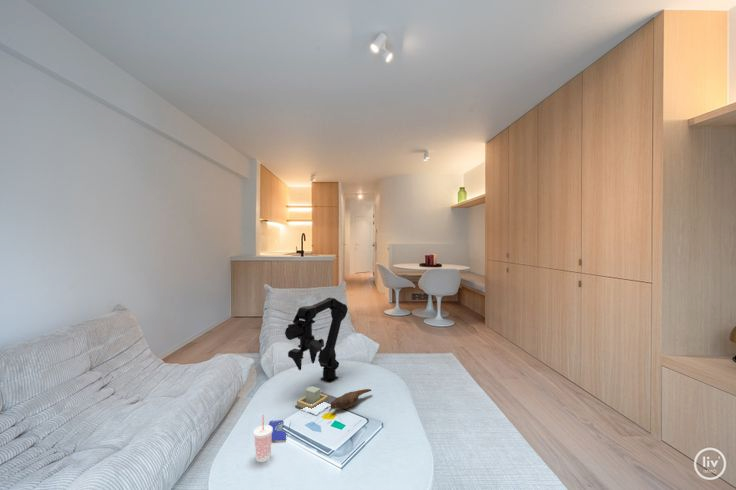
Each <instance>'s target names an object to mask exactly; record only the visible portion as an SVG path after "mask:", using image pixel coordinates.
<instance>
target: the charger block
mask: <svg viewBox="0 0 736 490" xmlns="http://www.w3.org/2000/svg"><path fill="white" fill-rule="evenodd" d="M320 392H321V388H319V387H315V386H313V385H312V386H309V387H307V388H306V389H305V392H304V393H305V394H304V397H305V403H308V404H314V403H315V402H317V401H318V400H320Z"/></svg>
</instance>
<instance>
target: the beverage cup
mask: <svg viewBox="0 0 736 490" xmlns="http://www.w3.org/2000/svg"><path fill="white" fill-rule="evenodd" d="M261 417H262V419H261V422H262V425H259V426H257V427H255V428H254V430H253V438H254V448H255V449H254V450H255V451H254V452H255V460H256V461H257V462H259V463H263V462H266V461H268V460H270V458H271V455H272V454H271V453H272V443H271V438H272V432H273V427H272V426H270V425H269V424H265V419H264V418H265V416H264V414H262V416H261Z"/></svg>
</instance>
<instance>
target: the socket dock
mask: <svg viewBox="0 0 736 490" xmlns="http://www.w3.org/2000/svg"><path fill="white" fill-rule="evenodd" d="M336 398H338V396H334V395H330V394H328V393H324V392H321V391H320V400H318V401H317V402H315V403H314V404H312V405H311V404H308V403H305V396H303V397H301V398H299V399H298V400H297V401H296V404H295V407H294V408H295V409H298V410H300V409H303V408H305V407H308V408H311V409H312V408H314V407H316V406H317V405H319V404H321V403H323V402H325V401H328V402H330V403H331V402H332V401H334V400H335V399H336Z"/></svg>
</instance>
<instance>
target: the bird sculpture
mask: <svg viewBox="0 0 736 490" xmlns="http://www.w3.org/2000/svg"><path fill="white" fill-rule="evenodd" d="M369 392H372V388H371V389H370V388H365V389H358V390H353V391H349V392H346V393H344V394H342V395H340V396H337V398H336V399H335V400H334V401H332V402H331V406H330V409H329V410H328V413H330V412H331V411H332V410H336V409H340V410H342V409H349V408H351V407H352V406H354V405H355V404H356V403H357V402H358V401H359V397H361V396H362V395H364V394H367V393H369Z"/></svg>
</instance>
